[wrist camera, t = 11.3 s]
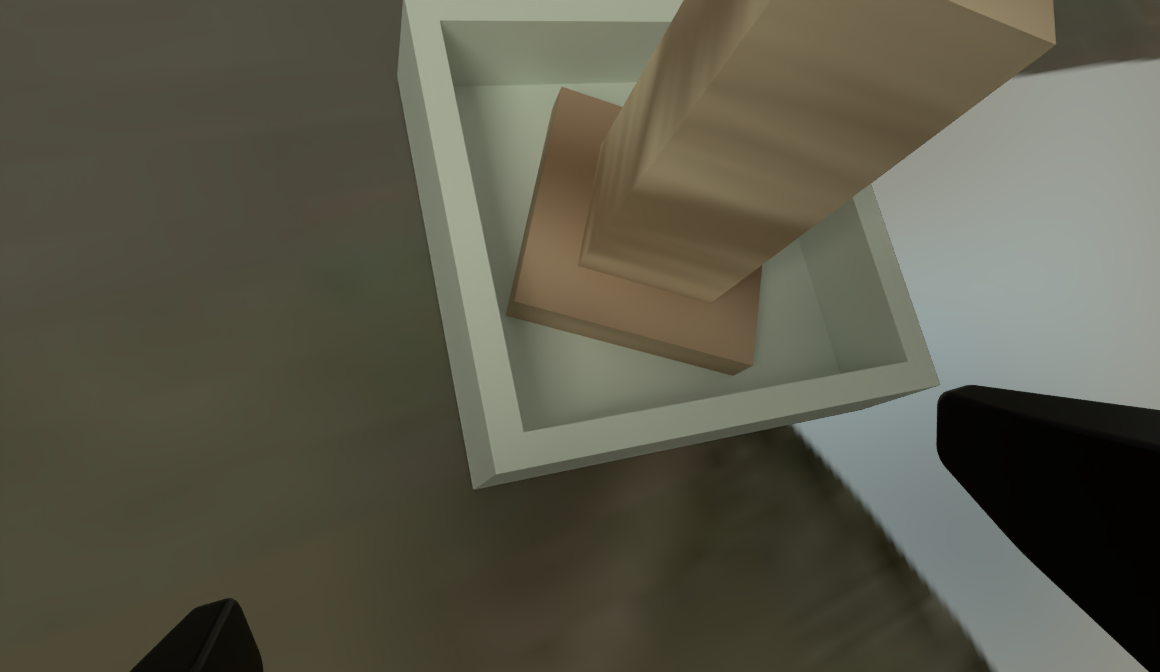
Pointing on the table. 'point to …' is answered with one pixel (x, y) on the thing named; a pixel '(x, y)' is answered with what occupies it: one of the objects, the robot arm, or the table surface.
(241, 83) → the table surface
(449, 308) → the box
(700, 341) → the wooden block tower
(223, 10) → the table surface
